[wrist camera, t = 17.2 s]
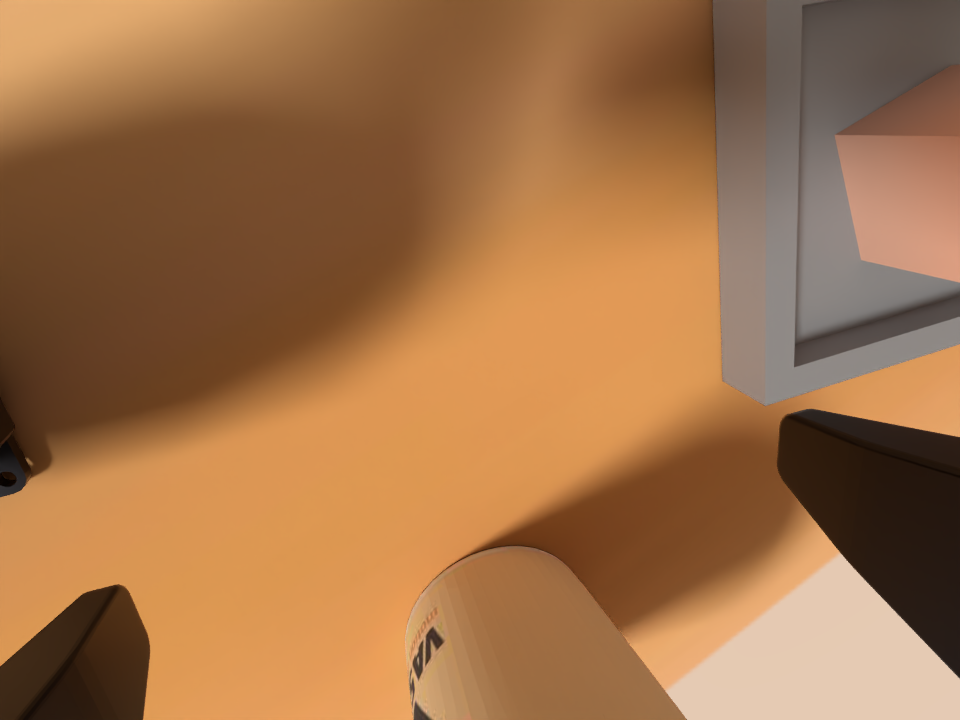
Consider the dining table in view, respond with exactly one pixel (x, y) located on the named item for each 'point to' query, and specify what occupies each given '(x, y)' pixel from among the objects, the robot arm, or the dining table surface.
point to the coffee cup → (522, 647)
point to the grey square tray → (815, 190)
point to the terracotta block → (908, 179)
